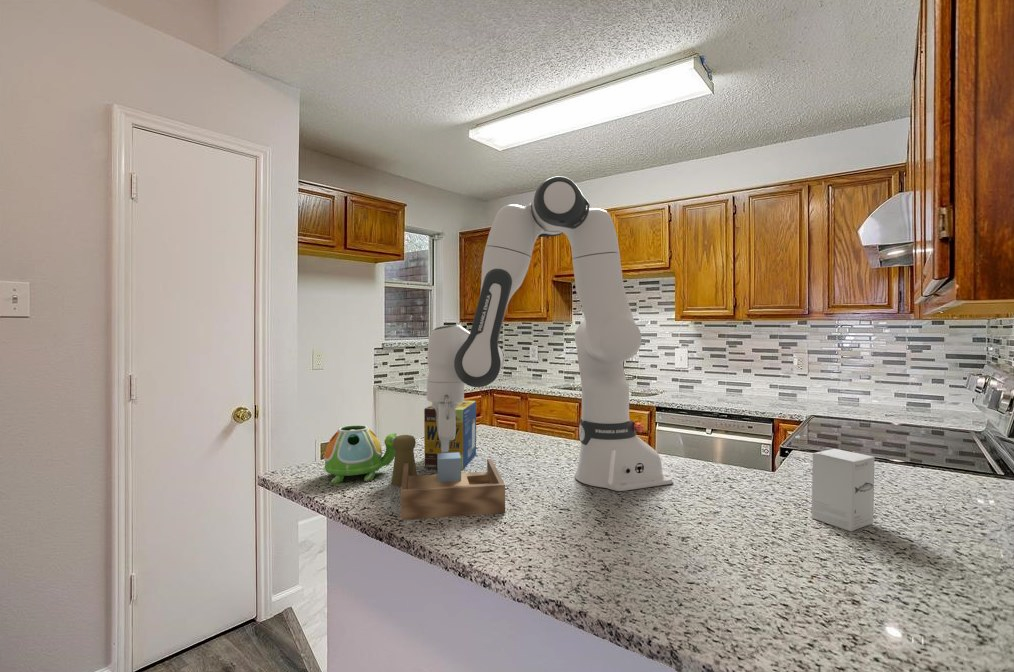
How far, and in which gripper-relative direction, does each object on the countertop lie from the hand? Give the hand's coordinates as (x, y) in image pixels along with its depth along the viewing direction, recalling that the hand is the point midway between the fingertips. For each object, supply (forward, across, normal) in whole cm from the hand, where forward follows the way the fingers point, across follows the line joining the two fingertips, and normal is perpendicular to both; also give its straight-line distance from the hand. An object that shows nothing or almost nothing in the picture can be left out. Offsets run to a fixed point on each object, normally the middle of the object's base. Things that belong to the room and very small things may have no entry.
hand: (444, 450), depth 117 cm
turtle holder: (+8, +7, +20) cm, 23 cm away
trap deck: (+7, -14, -1) cm, 16 cm away
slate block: (+4, -8, -1) cm, 9 cm away
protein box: (+7, +15, -3) cm, 17 cm away
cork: (+7, -1, +9) cm, 12 cm away
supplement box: (+5, -39, -72) cm, 82 cm away
